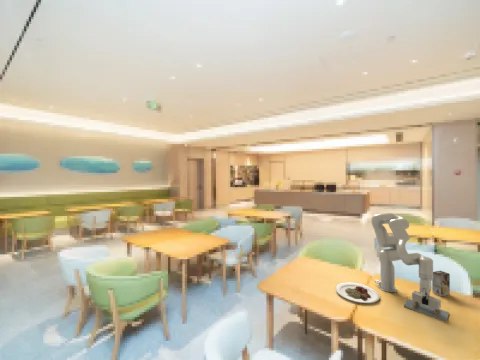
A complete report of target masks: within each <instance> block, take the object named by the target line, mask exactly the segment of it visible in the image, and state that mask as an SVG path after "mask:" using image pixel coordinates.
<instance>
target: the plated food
mask: <svg viewBox="0 0 480 360" xmlns="http://www.w3.org/2000/svg"><path fill="white" fill-rule="evenodd" d="M355 286H356V287H355ZM335 291H336V292H337V294H338V295H339V296H341V297H342V298H344V299H346V300H349V301H351V302H355V303H359V304H372V303H377V302H378V301H379V300H380V297H381V296H380V294H379V293H378V291H376V290H375V289H373V287H370V286H368V285H366V284H363V283H359V282H351V281H349V282H348V281H347V282H340V283H338V284H337V285H336V286H335Z"/></svg>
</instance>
